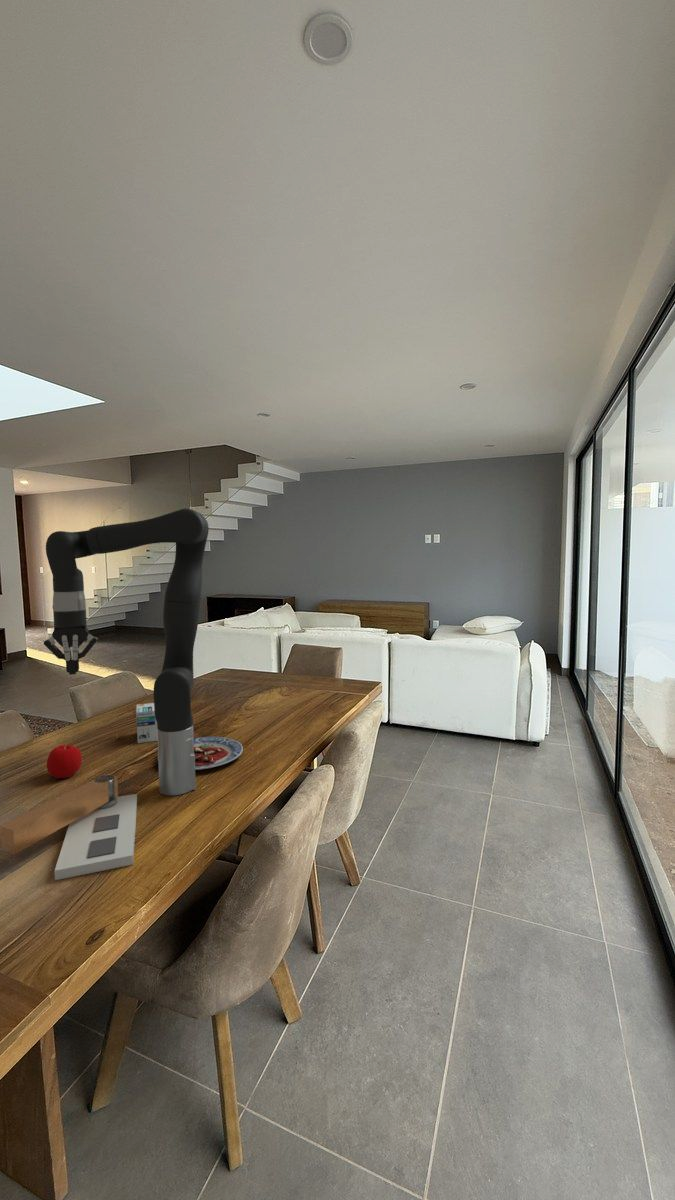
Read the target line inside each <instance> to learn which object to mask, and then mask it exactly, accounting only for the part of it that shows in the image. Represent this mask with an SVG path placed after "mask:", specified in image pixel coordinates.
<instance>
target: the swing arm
mask: <svg viewBox="0 0 675 1200" xmlns="http://www.w3.org/2000/svg"><path fill="white" fill-rule="evenodd" d="M118 780H119V779H118V776H116V775H114V774H108V773H105V774H103V775H100V776H98V777H96V778H94V779H92V780H90V781H89V782H87V783H84V784H82V785H80V786H78V787H76V788H74V789H72V790H70V791H68V792H66V793H64V794H61V795H60V796H59V797H56V798H54V799H53V800H52V799H51V800H50V801H48V802H46V803H44V804H42V805H40V806H38V807H36V808H34V809H32V810H30V811H28V812H26V813H24V814H22V815H20V816H18V817H15V818H14V819H12V820H9V821H7V822H5V823H4V824H1V825H0V847H1V851H4V852H7V853H9V854H13V855H16V854H18V853H20V852H22V851H24V850H25V849H27V848H29V847H30V846H32V845H34V844H36V843H37V842H40V841H41V840H43V839H45V838H47V837H48V836H50V835H51V834H54V833H55V832H58V830H60V829H62V828H64V827H66V826H69V824H70V823H71V822H73V821H75V820H77V819H78V818H80V817H82V816H84V815H86V814H87V813H89V812H91V811H93V810H94V809H96V808H98V807H100V806H102V805H103V804H105V803H107V802H109V801H111V800H113V799H114V798H116V797H119V785H118V784H119V783H118V782H119V781H118Z"/></svg>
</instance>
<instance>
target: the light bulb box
mask: <svg viewBox="0 0 675 1200" xmlns="http://www.w3.org/2000/svg"><path fill="white" fill-rule="evenodd" d="M135 707H136V708H135V709H136V710H135V714H136V729H137V730H136V732H137V734H136V735H137V736H136V737H137V744H141V743H143V744H144V743H150V742H158V734H157V721H156V719H155V710H154V702H151V703H141V704H140V703H139V704H138V703H137V704H136V705H135Z"/></svg>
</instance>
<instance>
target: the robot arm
mask: <svg viewBox="0 0 675 1200" xmlns="http://www.w3.org/2000/svg"><path fill="white" fill-rule="evenodd" d="M208 536H209V523H208V520H207V518H206V517H205V516H204V515H203V514H202V513H201V512H198V511H196V510H194V509H192V508H180V509H179V510H178V509H177V510H175V511H172V512H168V513H165V514H162V515H159V516H155V517H152V518H148V519H143V520H138V521H132V522H131V521H130V522H122V523H115V524H106V525H100V526H96V527H95V526H94V527H92V528H90V529H88V530H82V531H65V530H64V531H62V530H57V531H54V532H52V533H51V534H50V535H48V537H47V539H46V542H45V555H46V558H47V561H48V565H49V569H50V571H51V574H52V590H53V594H52V613H53V616H52V617H53V632H52V634H51V637H49V638H48V639H46V640H44V641H43V645H44V646H45V647H46V648H47V649H48V650H49V652H51V653H52V654H53V656H55V657H56V658H57V659H58V660H63V661H64V660H65V669H66V673H68V675H69V676H70V675H76V674H77V673H79V671H80V659H82V658H85V657H86V656H87V654H88V653H89V652H90V651H91V649H92V648H93V647H94V645H95V644H96V643H97V642H98V636H93V635H92V634H91V633H90V631H89V629H88V624H87V603H86V596H85V587H84V586H85V585H84V584H85V583H84V575H83V572H82V570H80V569H79V568H78V566H77V561H76V559H81V558H86V557H91V556H94V555H95V556H96V555H99V554H100V555H103V554H109V553H116V552H122V551H126V550H131V549H135V548H138V547H141V546H146V545H152V544H161V543H163V544H164V543H166V544H167V543H168V544H169V543H174V544H175V556H174V557H175V558H174V563H173V568H172V571H171V573H170V575H169V576H170V577H169V578H168V581H167V585H166V588H165V593H164V600H163V610H162V612H163V613H162V622H163V625H162V626H163V630H164V631H163V632H164V633H163V634H164V638H165V652H164V659H163V664H162V669H161V671H160V673H159V675H157V677H156V678H155V680H154V683H153V703H154V710H155V719H156V721H157V734H158V741H157V762H158V787H159V788H158V790H159V793H160V794H162V795H165V796H179V795H184V794H187V793H189V792H191V791H194V790H196V788H197V786H196V784H197V783H196V770H195V755H194V738H195V737H194V715H193V713H192V707H191V706H192V699H191V691H192V689H193V686H194V646H195V642H196V637H197V631H198V628H199V627H198V626H199V625H198V624H199V620H200V618H199V617H200V610H201V599H202V584H203V582H202V581H203V579H202V578H203V576H202V575H203V574H202V572H203V563H204V562H203V561H204V557H205V556H204V555H205V550H206V545H207V540H208ZM86 639H87V640H86ZM85 640H86V643H87V645H86V646H85V648H84V649H83V650H82V652H81V651H80V647H81V646H82V644H83V643H84V642H85ZM56 642H57V643H58V644H59V645H60V646H61V647H62V648H63V651H62V650H60V649H59V647H58V646H57V645H56Z"/></svg>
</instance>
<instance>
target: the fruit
mask: <svg viewBox="0 0 675 1200" xmlns="http://www.w3.org/2000/svg"><path fill="white" fill-rule="evenodd" d="M64 742H65V744H61V745H59V746H56V747H54V748H53V749H52V750H51V751H50V753H48V756H47V760H46V769H47V772H48V774H49V775H50V776H52V777H53V778H55V779H59V778H62V779H67V777H68V778H71V777H72V776H73V775H75V774H76V773H77V772H78V771H79V770H80V768H81V766H82V763H83V762H82V761H83V756H82V755H83V754H82V752H81V750H80V749H79V748H78V747H77V746H75V745H71V744H67V742H68V741H67V740H64Z"/></svg>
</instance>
